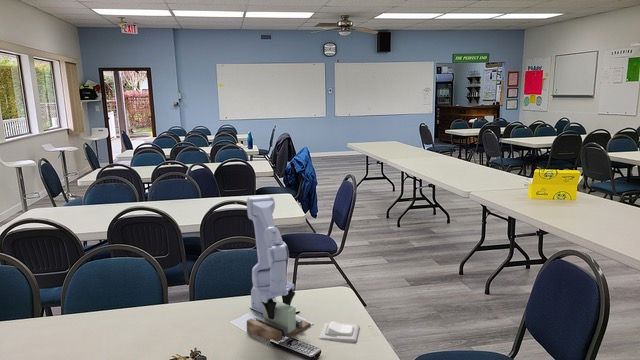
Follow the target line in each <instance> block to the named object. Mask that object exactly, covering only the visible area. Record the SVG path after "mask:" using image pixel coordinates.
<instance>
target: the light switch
mask: <svg viewBox="0 0 640 360" xmlns="http://www.w3.org/2000/svg"><path fill="white" fill-rule="evenodd" d="M359 330H360V325H359V324H358V323H343V322H342V323H341V322H338V321H333V320H332V321H330V322H325V323H324V324H323V327H322V329H321V332H320V335H319V337H318V340H325V341H335V342H342V343H343V342H344V343H356V342H357V339H358V334H359Z"/></svg>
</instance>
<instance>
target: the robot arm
mask: <svg viewBox="0 0 640 360" xmlns="http://www.w3.org/2000/svg"><path fill="white" fill-rule="evenodd" d="M275 205H276V203H275V198H274V196H273V195H265V196H263V195H262V196H253V197H251V196H249V197H248V198H247V199H246V211H247V217H248V219H249V220H250V221H252V222H253V227H254V236H255V237H254V238H255V246H256V252H257V254H256V255H257V263H256V264H255V265H254V266H253V267H252V268H251V269H252V270H251V282H252V288H251V290H250V303H251V305H250V306H249V309H252V310H255V311H257V312H259V313H261V314H263V305H264V307H265V309H266V311H267V314H268V318H270V319H272V320H273V319H274V314H275V306H276V302H274V301H273V300H272V299H274V300H277V299H276V298H277V297H280V296H281V299H282V303H285V304H287V305H290V306H291V303H292V301H293V299H294V297H295V296H296V291H294V290H295V284H294V283H292V282H289V283H287V261H288V260H289V257H290V254H289V253H290V252H289V249H288V248H289V247H288V245H287V244H286V242H285V241H283V238H282V235H281V232H280V229H279V228H277V227H276V226H275V220H274V217H273V214H274V211H275V207H276V206H275Z"/></svg>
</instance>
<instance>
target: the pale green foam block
mask: <svg viewBox="0 0 640 360" xmlns="http://www.w3.org/2000/svg"><path fill="white" fill-rule="evenodd" d="M272 300H273V301H274V302H276V306H275V314H274V319H273V320H272V319H270V318H268V314H267V311H266V309H265V307H264V305H263V313H262V314H263V316H262V318H264V319H266V320H269V321H271V322H273V323H275V324H278V325H280V326H282V327H285V328H287V329H288V333H290V332H292V331H293V330H295V329H296V317H297V316H296V315H297V314H296V313H297V312H296V307H294V306H292V305H291V304H290V305H287V304H285V303H283V301H282V302H281V301H280V300H277V299H276V300H274V299H272Z"/></svg>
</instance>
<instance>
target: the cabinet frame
mask: <svg viewBox="0 0 640 360" xmlns="http://www.w3.org/2000/svg"><path fill="white" fill-rule="evenodd" d="M311 325H312V324H311V322H309V321H307V320H304V319H301V318H298V317H297V316H296V329H295V330H293V331H292V332H290V333H288V329H287V328H285V327H282V326H280V325H278V324H275V323H273V322H271V321H269V320H266V319H264V318H263V316H257V317H255V319H253V318H249V319H246V332H248V333H249V334H250V333H251V334H252V335H255V336H256V337H259V338H260V339H263V340H264V341H265V340H266V341H268V342H269V341H270V339H273V340H275V341H277V342H278V341H280V340H282V336H284V337H285V336H287V337H291V338H292V337H294V336H296V335H298V334H299V333H301V332H302V331H304V330H306V329H308V328H309V327H311Z"/></svg>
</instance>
